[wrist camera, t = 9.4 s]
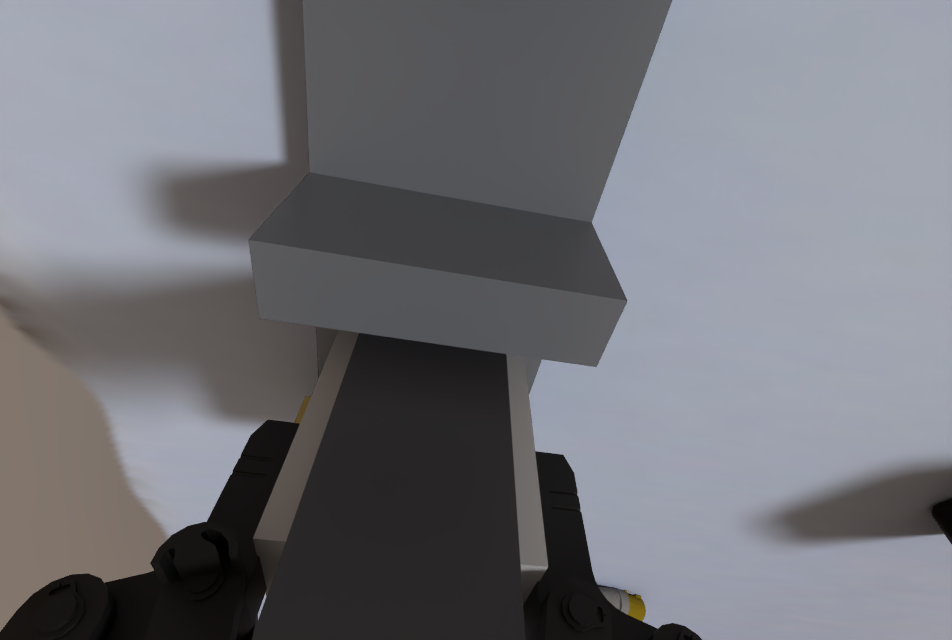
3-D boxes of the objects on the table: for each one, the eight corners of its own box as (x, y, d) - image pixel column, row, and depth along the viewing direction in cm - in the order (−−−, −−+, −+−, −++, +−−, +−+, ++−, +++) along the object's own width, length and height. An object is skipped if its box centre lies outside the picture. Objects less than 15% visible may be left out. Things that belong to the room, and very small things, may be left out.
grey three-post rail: (287, -371, 8) (72, -763, 4) (739, -237, 8) (972, -436, 4) (320, 411, 19) (278, 521, 15) (506, 434, 20) (512, 545, 16)
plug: (375, 284, 14) (207, 767, 5) (503, 304, 14) (535, 783, 6) (370, 376, 16) (248, 811, 8) (479, 391, 17) (478, 820, 8)
